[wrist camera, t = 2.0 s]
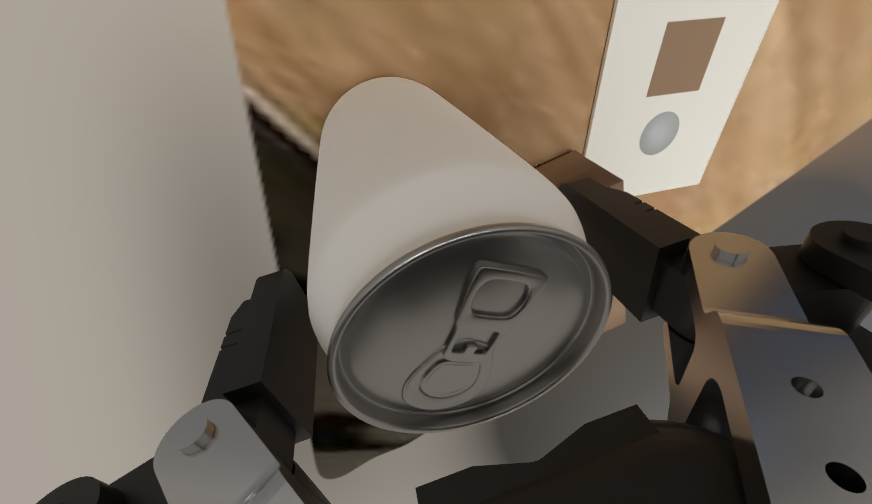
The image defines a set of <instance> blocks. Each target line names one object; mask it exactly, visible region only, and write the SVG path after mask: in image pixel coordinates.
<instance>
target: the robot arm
mask: <svg viewBox="0 0 872 504" xmlns="http://www.w3.org/2000/svg"><path fill="white" fill-rule="evenodd" d="M558 189H559V191H560V192H561V193H562V194H563V195H564V196H565V197H566V198H567V200H568V201H569V202H570V203H571V205H572V206H573V208H574V210H575V211H576V213H577V215H578V218H579V220H580V222H581V225H582V228H583V231H584V234H585V238H586V242H587V243H588V244H589V245H590V246H592V247H593V248H594V249H595V250H596V251H597V253H598V254H599V255H600V256H601V258H602V259H603V261H604V262H605V264H606V266H607V268H608V270H609V273H610V276H611V281H612V287H613V296H615V297H616V298H617V299H618V300H619V301H620V302H621V303H622V304H623V305H624V306H625V307H626V308H627V309H628V310H629V311H630V312H631V313H632V314H633V315H634V316H635V317H636V318H637V319H638V320H639V321H640V322H643V321H645V320H648V319H651V318H654V317H656V316H660V317H661V318H663V319H664V320H665V323H664V326H663V337H664V346H665V356H666V365H667V374H668V384H669V396H670V397H669V408H668V416H667V421H666V420H649V419H648V418H647V417H646V415H645V414H644V413H643V412H642V411H641V409H640V408H639V407H638V405H634V406H631V407H628V408H626V409H623V410H620V411H618V412H615V413H612V414H610V415H607V416H605V417H602V418H599V419H596V420H594V421H591V422H589V423H586V424H584V425H583V426H582V427H580V428H579V429H578V430H577V431H575V432H574V433H573V434H572V435H570V436H569V437H568V438H566V439H565V440H564V441H563V442H561V443H560V444H559V445H558V446H556V447H555V448H554V449H553V450H551V452H549V453H548V454H546V455H545V456H544V457H543V458H541V459H540V460H538V461H535V462H530V463H515V464H500V465H486V466H472V467H469V468H467V469H464V470H462V471H459V472H456V473H454V474H451V475H448V476H446V477H443V478H440V479H438V480H435V481H432V482H430V483H427V484H424V485H422V486H419V487H417V488H416V493H417V499H418V504H872V332H870V331H868V330H867V329H865V328H863V327H862V326H860V323H861V322H862V321H863V320H864V319H865V318H866V316H867V315H868V314H869V313H870V311H871V310H872V224H868V223H862V222H855V221H827V222H822V223H819V224H817V225H815V226H813V227H812V228H811V230H810V231H809V233H808V235H807V237H806V239H805V240H804V242H803V244H800V245H788V246H777V247H767V246H766V245H764V244H763V243H761V242H759V241H757V240H755V239H752V238H750V237H746V236H743V235H739V234H734V233H726V232H711V233H705V234H699V233H697V232H695V231H694V230H692V229H690V228H688V227H687V226H685V225H683V224H681V223H680V222H678V221H676V220H675V219H673V218H671V217H669V216H668V215H666V214H664V213H662V212H661V211H659V210H654V207H652V206H650V205H649V204H647V203H645V202H644V203H642V200H640V199H638V198H636V197H635V196H633V195H631V194H629V193H628V192H625V191H621V190H617V189H614V188H610V187H605V186H604V185H602V184H600V183H599V182H597V181H595V180H594V179H592V178H590V177H587V176H585V177H582V178H579V179H575V180H572V181H569V182H566V183H563V184H561V185H560V186H559V188H558ZM221 349H222V350H221V351H219V355H218V357H217V360H216V363H215V366H214V369H213V371H212V374H211V377H210V380H209V383H208V386H207V388H206V391H205V394H204V397H203V400H202V403H201V404H200V405H198V406H196V407H194V408H193V409H191V410H190V411H188V412H187V413H186V414H184V415H183V416H182V417H181V418H180V419H179V420H177V421H176V423H175V424H174V425H173V426H172V427H171V428H170V429H169V430H168V432H167V433H166V434H165V436H164V437H163V439H162V440H161V442H160V444H159V446H158V448H157V451H156V453H155V456H154V457H153V458H151V459H150V460H148V461H147V462H145V463H143V464H142V465H140V466H139V467H137V468H135V469H134V470H132V471H131V472H129V473H127V474H126V475H124V476H123V477H121V478H119V479H118V480H116V481H115V482H113V483H111V484H110V485H108V484H106V483H104V482H102V481H99V480H97V479H95V478H93V477H88V476H86V477H80V478H76V479H74V480H71V481H69V482H67V483H65V484H63V485H61V486H59V487H58V488H56V489H55V490H53V491H52V492H50V493H49V494H47V495H46V496H45V497H44V498H42V499H41V500H40V501H39V502H38V503H36V504H331V503H330V502H329V501H328V500H327V498H326V497H325V496H324V495H323V494H322V492H321V491H320V490H319V489H318V488H317V487H316V485H315V484H314V483H313V482H312V481H311V480H310V478H309V477H308V476H307V475H306V473H305V472H304V471H303V470H302V469H301V468H300V467H299V465H298V464H297V463H296V462H295V461H294V460H293V457H294V446H295V443H298V442H301V441H304V440H306V439H309V438H312V434H313V415H314V396H315V377H316V358H317V337H316V335H315V333H314V330H313V328H312V325H311V321H310V317H309V311H308V299H307V297H306V295H305V294H304V292H303V290H302V289H301V287H300V286H299V284H298V282H297V281H296V279H295V277H294V276H293V274H292V273H291V272H290V271H289V270H288V269H284V270H281V271H278V272H274V273H272V274H268V275H265V276H262V277H259V278H258V279H257V280H256V283H255V287H254V290H253V293H252V296H251V299H250V300H246V301H244V302H243V303H242V304H241V306H240V307H239V308H238V309H237V311H236V312H235V313H234V315H233V316H232V317H231V320H230V323H229V325H228V329H227V331H226V337H224V340H223V343H222V345H221Z"/></svg>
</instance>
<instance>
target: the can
mask: <svg viewBox="0 0 872 504" xmlns="http://www.w3.org/2000/svg"><path fill="white" fill-rule="evenodd" d="M307 299H308V311H309V317H310V321H311V325H312V328H313V330H314V333H315V335H316V337H317V339H318V341H319V343H320V345H321V347H322V348H323V350H324V352H325V353H326V355H327V373H328V379H329V382H330V385H331V388H332V390H333V392H334V394H335V396H336V397H337V399H338V400H339V402H340V403H341V404H342V405H343V406H344V407H345V408H346V409H347V410H348V411H349V412H350V413H352V414H353V415H354V416H356V417H357V418H359V419H361V420H363V421H364V422H366V423H369V424H371V425H374V426H376V427H379V428H383V429H387V430H391V431H397V432H405V433H437V432H446V431H453V430H458V429H463V428H467V427H471V426H475V425H479V424H482V423H485V422H488V421H491V420H494V419H496V418H499V417H502V416H504V415H506V414H509V413H511V412H513V411H515V410H517V409H519V408H521V407H523V406H525V405H527V404H529V403H530V402H532V401H534V400H536V399H537V398H538V397H540V396H542V395H543V394H545V393H546V392H548V391H549V390H551V389H552V388H553V387H555V386H556V385H557V384H559V383H560V382H561V381H562V380H564V379H565V378H566V377H567V376H568V375H569V374H570V373H571V372H572V371H573V370H574V369H576V367H577V366H578V365H579V364H580V363H581V362H582V361H583V360H584V359H585V358H586V356H587V355H588V354H589V353H590V351H591V350H592V349H593V347H594V346H595V344H596V343H597V341H598V339H599V338H600V336H601V334H602V332H603V330H604V328H605V326H606V324H607V321H608V318H609V315H610V311H611V307H612V299H613V287H612V281H611V276H610V273H609V270H608V268H607V266H606V264H605V262H604V261H603V259H602V258H601V256H600V255H599V254H598V253H597V251H596V250H595V249H594V248H593V247H592V246H590V245H589V244H588V243H587V242H586V238H585V234H584V231H583V228H582V225H581V222H580V220H579V218H578V215H577V213H576V211H575V210H574V208H573V206H572V205H571V203H570V202H569V201H568V200H567V198H566V197H565V196H564V195H563V194H562V193H561V192H560V191H559V189H558V188H557V187H556V186H555V185H554V184H552V183H551V182H550V181H549V180H548V179H547V178H545V177H544V176H543V175H542V174H541V173H540V172H538V171H537V170H536V169H535V168H533V167H532V166H531V165H530V164H528V163H527V162H526V161H525V160H523V159H522V158H521V157H520V156H518V155H517V154H516V153H514V152H513V151H512V150H511V149H509V148H508V147H507V146H505V145H504V144H503V143H502V142H500V141H499V140H498V139H496V138H495V137H494V136H492V135H491V134H490V133H489V132H487V131H486V130H485V129H483V128H482V127H481V126H479V125H478V124H477V123H475V122H474V121H473V120H472V119H470V118H469V117H468V116H466V115H465V114H464V113H462V112H461V111H460V110H458V109H457V108H456V107H454V106H453V105H452V104H450V103H449V102H448V101H446V100H445V99H444V98H442V97H441V96H440V95H438V94H437V93H435V92H434V91H433V90H431V89H429V88H428V87H426V86H424V85H422V84H420V83H418V82H416V81H413V80H410V79H406V78H400V77H380V78H375V79H371V80H368V81H365V82H363V83H360V84H359V85H357V86H355V87H353V88H352V89H350V90H349V91H348V92H346V93H345V94H344V95H343V96H342V97H341V98H340V99H339V100H338V101H337V102H336V104H335V105H334V106H333V108H332V109H331V111H330V113H329V114H328V117H327V119H326V121H325V124H324V127H323V130H322V135H321V141H320V148H319V157H318V167H317V176H316V186H315V197H314V207H313V218H312V229H311V240H310V252H309V264H308V283H307Z"/></svg>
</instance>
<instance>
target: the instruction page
mask: <svg viewBox="0 0 872 504" xmlns="http://www.w3.org/2000/svg"><path fill="white" fill-rule="evenodd" d="M778 2H779V0H615V3H614V8H613V13H612V18H611V23H610V27H609V32H608V37H607V42H606V47H605V52H604V56H603V61H602V66H601V71H600V76H599V81H598V85H597V90H596V95H595V100H594V105H593V110H592V114H591V119H590V124H589V129H588V134H587V138H586V143H585V148H584V153H583V156H585V157H586V158H588V159H589V160H591V161H593V162H594V163H596V164H598V165H599V166H601V167H603V168H604V169H606V170H607V171H609V172H611V173H612V174H614V175H616V176H617V177H619V178H621V179H622V180H624V191H625V192H628V193H629V194H631V195H633V196H637V195H642V194H647V193H653V192H658V191H664V190H669V189H674V188H680V187H685V186H690V185H696V184H699V182H700V180H701V178H702V175H703V173H704V171H705V169H706V166H707V164H708V162H709V159H710V157H711V155H712V153H713V150H714V148H715V146H716V143H717V141H718V139H719V137H720V134H721V132H722V130H723V128H724V125H725V123H726V121H727V118H728V116H729V114H730V112H731V109H732V107H733V105H734V102H735V100H736V98H737V96H738V93H739V91H740V89H741V87H742V84H743V82H744V80H745V77H746V75H747V73H748V71H749V68H750V66H751V64H752V61H753V59H754V57H755V55H756V52H757V50H758V48H759V45H760V43H761V41H762V39H763V36H764V34H765V32H766V30H767V27H768V25H769V23H770V20H771V18H772V16H773V14H774V11H775V9H776V7H777V4H778Z"/></svg>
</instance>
